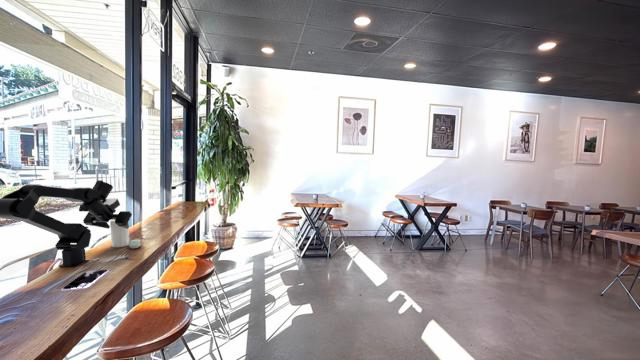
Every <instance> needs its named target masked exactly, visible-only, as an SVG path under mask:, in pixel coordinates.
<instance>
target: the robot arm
mask: <svg viewBox="0 0 640 360" xmlns="http://www.w3.org/2000/svg"><path fill="white" fill-rule="evenodd" d="M113 189H114V187H113V185H112V184H110V183H108V182H106V181H103V180H102V179H101V180H100V179H99V180H98V179H97V181H96V182H95V184H94V186H93V187H92V188H91V187H60V186H51V185H42V184H40V183H39V184H37V183H36V184H35V183H31V184H30V183H29V184H25V185H23V186H20V188H18V189H17V190H14V191H12V192H9V193H8V194H6V195H3V196H2V197H1V198H0V218H1V219H6V220H12V221H20V222H24V223H26V224H28V225H31V226H33V227H36V228H39V229H42V230H44V231H47V232H48V233H49V232H50V233H52V234H54V235H57V236H58V239H59V240H58V241H57V242H56V244H55V248H56V250H57V251H60V250H61V255H62V257H61V258H62V259H61V260H62V264H59V265H58V267H59V268H76V267H78V266H81V265H84V264H85V263H88V262H90V260H89V259H86V258H87V257H86V248H88V247H90V246H89V245H90V241H91V239H92V233H91V230H90V229H89V226H90V227H91V226H92V227H97V228H101V229H102V228H104V229H111V225H109V224H108V223H110V221H111V220H115V223H116V224H117V225H118V226H120V227H123V228H126V229H128V228H129V229H130V224H129V221H130V219H131V217H132V215H133V214H132V212H130V210H129V211H128V210H126V211H125V210H121V211H119V212H118V213H116V211H117V210H116V209H117V208H119V206H121V204H120V201H119V199H118V198H111V197H110V198H108V197H109V195H110V193H111V192H112V190H113ZM41 197H42V198H53V199H56V198H57V199H63V200H64V199H65V200H66V201H68V202H72V203H81V204H80V205H79V208H78V211H79V212H87V214H86V215H85V217H84V219H83V220H82V222H83V224H84V225H83V224H82V223H77V222H76V223H72V222H69V223H68V222H63V221H60V220H58V219H56V218H54V217H52V216H51V215H50V216H49V215H47V214H45V213H43V212H41V211H38V210H37V209H36V205H37V204H38V202H39V199H40V198H41ZM85 225H86V226H85Z"/></svg>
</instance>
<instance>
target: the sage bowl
mask: <svg viewBox="0 0 640 360" xmlns="http://www.w3.org/2000/svg"><path fill="white" fill-rule="evenodd" d="M141 245H142V244H141V239H131V240H129V245H128V247H129V248H130V249H137V248H139V247H141Z"/></svg>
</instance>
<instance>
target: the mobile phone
mask: <svg viewBox="0 0 640 360" xmlns="http://www.w3.org/2000/svg"><path fill="white" fill-rule="evenodd" d="M108 273H109V269H100V270H99V269H98V270H89V271H85V272H84V273H82V274H81V275H80V274H79V276H78V277H76V278H74V279H73V280H72V281H70V282H69V283H67V284H66V285H64V286H63V287H62V288H61V289H60V291H61V292H65V291H77V290H86V289H89V288H90V287H91V286H92V285H94V284H96V282H97V281H99V280H101V278H103V277H104V276H105V275H106V274H108Z"/></svg>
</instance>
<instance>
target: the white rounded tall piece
mask: <svg viewBox="0 0 640 360" xmlns="http://www.w3.org/2000/svg"><path fill="white" fill-rule="evenodd" d="M109 223H110V225H109V226H110V238H111V247H112V248H123V247H127V246H129V241H130V227H129V228H128V229H126V228H123V227H120V226H118V225H117V224H116V223H115V220H110V221H109Z"/></svg>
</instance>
